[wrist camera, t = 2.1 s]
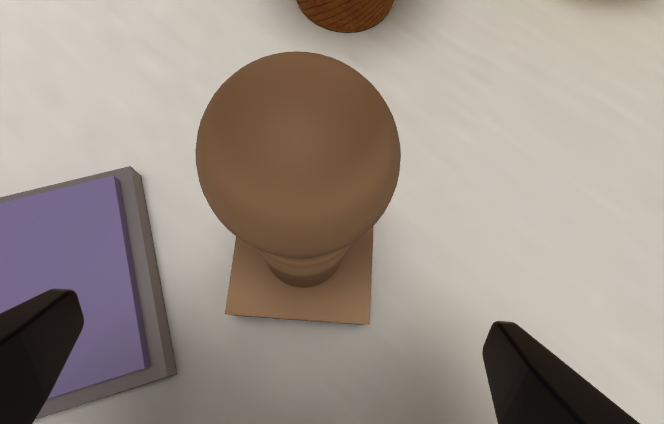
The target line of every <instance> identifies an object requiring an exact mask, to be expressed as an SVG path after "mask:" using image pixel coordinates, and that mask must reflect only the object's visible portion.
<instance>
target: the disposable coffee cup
mask: <svg viewBox="0 0 664 424" xmlns="http://www.w3.org/2000/svg"><path fill="white" fill-rule="evenodd" d="M297 2H298V5H299V7H300V9H301V10H302V11H303V13H304V14H305V15H306V16H307V17H308V18H309V19H311V20H312V21H313V22H315V23H316V24H318V25H320V26H322V27H325V28H327V29H330V30H334V31H340V32H355V31H362V30H366V29H368V28H370V27H373V26H375V25H376V24H378V23H379V22H381V21H382V20H383V19H384V18H385V17H386V16H387V14H388V13H389V11H390V9H391V7H392V4H393V2H394V0H297Z"/></svg>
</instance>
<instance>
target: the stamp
mask: <svg viewBox="0 0 664 424" xmlns="http://www.w3.org/2000/svg"><path fill="white" fill-rule="evenodd" d="M400 158H401V153H400V142H399V137H398V132H397V127H396V124H395V121H394V118H393V116H392V114H391V112H390V110H389V108H388V106H387V104H386V102H385V101H384V99H383V98H382V96H381V95H380V93H379V92H378V91H377V89H376V88H375V87H374V86H373V85H372V84H371V83H370V82H369V81H368V80H367V79H366V78H365V77H364V76H362V75H361V74H360V73H359V72H357V71H356V70H354V69H353V68H351V67H350V66H348V65H346V64H344V63H343V62H341V61H339V60H336V59H333V58H331V57H328V56H324V55H321V54H316V53H309V52H284V53H278V54H273V55H270V56H266V57H263V58H260V59H258V60H256V61H253V62H251V63H249V64H248V65H246V66H244V67H242V68H241V69H240V70H238V71H237V72H236V73H234V74H233V75H232V76H231V77H230V78H229V79H227V80H226V81H225V82H224V83H223V84H222V85H221V87H220V88H219V89H218V90H217V92H216V93H215V94H214V96H213V97H212V99H211V101H210V102H209V104H208V106H207V108H206V110H205V112H204V115H203V117H202V119H201V122H200V126H199V130H198V135H197V143H196V166H197V171H198V177H199V182H200V185H201V188H202V191H203V194H204V195H205V197H206V199H207V201H208V203H209V205H210V207H211V209H212V210H213V212H214V213H215V215H216V216H217V217H218V219H219V220H220V221H221V222H222V223H223V224H224V226H225V227H226V228H227V229H228V230H229V231H231V232H232V233H233V234H234V235H236V242H235V249H234V256H233V263H232V270H231V277H230V284H229V290H228V297H227V304H226V311H225V314H229V315H236V316H249V317H263V318H277V319H291V320H305V321H319V322H333V323H347V324H361V325H364V324H370V301H371V275H372V248H373V225H374V224H375V223H376V222H377V221H378V220H379V218H380V217H381V216H382V215H383V213H384V212H385V210H386V208H387V206H388V204H389V203H390V201H391V198H392V196H393V193H394V191H395V188H396V185H397V181H398V177H399V170H400Z"/></svg>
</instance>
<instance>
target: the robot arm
mask: <svg viewBox="0 0 664 424" xmlns="http://www.w3.org/2000/svg"><path fill="white" fill-rule="evenodd" d="M83 326H84V316H83V312H82V309H81V306H80V302H79V299H78V296H77V293H76V292H75V291H74V290H71V289H59V288H54V289H50V290H48V291H45V292H43V293H41V294H39V295H37V296H35V297H33V298H31V299H29V300H27V301H25V302H23V303H21V304H19V305H17V306H15V307H12V308H10V309H8V310H6V311H4V312H2V313H0V424H32V423H33V422H34V420H35V419H36V417H37V415H38V414H39V412H40V411H41V409H42V407H43V405H44V404H45V402H46V400H47V399H48V397H49V395H50V393H51V391H52V389H53V388H54V386H55V384H56V382H57V380H58V378H59V376H60V374H61V372H62V370H63V368H64V366H65V364H66V362H67V360H68V358H69V356H70V354H71V352H72V350H73V347H74V345H75V343H76V341H77V339H78V337H79V335H80V333H81V331H82V329H83ZM483 360H484V364H485V369H486V373H487V378H488V382H489V386H490V391H491V395H492V400H493V404H494V408H495V413H496V417H497V421H498V424H640V423H638V422H637V421H636V420H635V419H633V418H632V417H631V416H630V415H629V414H627V413H626V412H625V411H624V410H622V409H621V408H620V407H619V406H617V405H616V404H615V403H614V402H612V401H611V400H610V399H609V398H607V397H606V396H605V395H604V394H603V393H601V392H600V391H599V390H598V389H596V388H595V387H594V386H593V385H591V384H590V383H589V382H588V381H586V380H585V379H584V378H583V377H581V376H580V375H579V374H578V373H576V372H575V371H574V370H573V369H572V368H570V367H569V366H568V365H567V364H565V363H564V362H563V361H562V360H560V359H559V358H558V357H557V356H555V355H554V354H553V353H552V352H550V351H549V350H548V349H547V348H546V347H544V346H543V345H542V344H541V343H539V342H538V341H537V340H536V339H534V338H533V337H532V336H531V335H529V334H528V333H527V332H526V331H524V330H523V329H522V328H521V327H519V326H518V325H517V324H515V323H513V322H505V321H496V322H494V323H493V324H492V326H491V329H490V331H489V334H488V336H487V339H486V341H485V344H484V346H483Z"/></svg>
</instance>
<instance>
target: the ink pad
mask: <svg viewBox="0 0 664 424" xmlns="http://www.w3.org/2000/svg"><path fill="white" fill-rule="evenodd" d="M54 288H59V289H71V290H74V291H75V292H76V293H77V296H78V299H79V302H80V306H81V309H82V312H83V316H84V326H83V329H82V331H81V333H80V335H79V337H78V339H77V341H76V343H75V345H74V347H73V350H72V352H71V354H70V356H69V358H68V360H67V362H66V364H65V366H64V368H63V370H62V372H61V374H60V376H59V378H58V380H57V382H56V384H55V386H54V388H53V389H52V391H51V393H50V395H49V397H48V399H47V400H46V402H45V404H44V405H43V407H42V409H41V411H40V412H39V414H38V415H37V417H36V419H37V418H40V417H43V416H46V415H49V414H53V413H56V412H59V411H62V410H65V409H68V408H71V407H74V406H78V405H81V404H84V403H87V402H90V401H93V400H96V399H99V398H102V397H106V396H109V395H112V394H115V393H118V392H121V391H124V390H127V389H130V388H134V387H137V386H140V385H143V384H146V383H149V382H152V381H155V380H158V379H162V378H165V377H168V376H171V375H173V374H176V373H177V372H176V366H175V361H174V355H173V350H172V344H171V339H170V333H169V328H168V322H167V317H166V311H165V306H164V300H163V295H162V289H161V284H160V278H159V273H158V267H157V262H156V256H155V251H154V245H153V240H152V234H151V229H150V223H149V218H148V212H147V207H146V201H145V196H144V190H143V185H142V179H141V175H140V174H139V173H137V172H136V171H135V170H134V169H133V168H132V167H131V166H129V167H125V168H121V169H117V170H113V171H109V172H104V173H100V174H96V175H92V176H88V177H84V178H80V179H75V180H71V181H67V182H63V183H59V184H55V185H50V186H46V187H42V188H38V189H34V190H30V191H25V192H21V193H17V194H13V195H9V196H5V197H0V313H2V312H4V311H6V310H8V309H10V308H12V307H15V306H17V305H19V304H21V303H23V302H25V301H27V300H29V299H31V298H33V297H35V296H37V295H39V294H41V293H43V292H45V291H48V290H50V289H54Z"/></svg>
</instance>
